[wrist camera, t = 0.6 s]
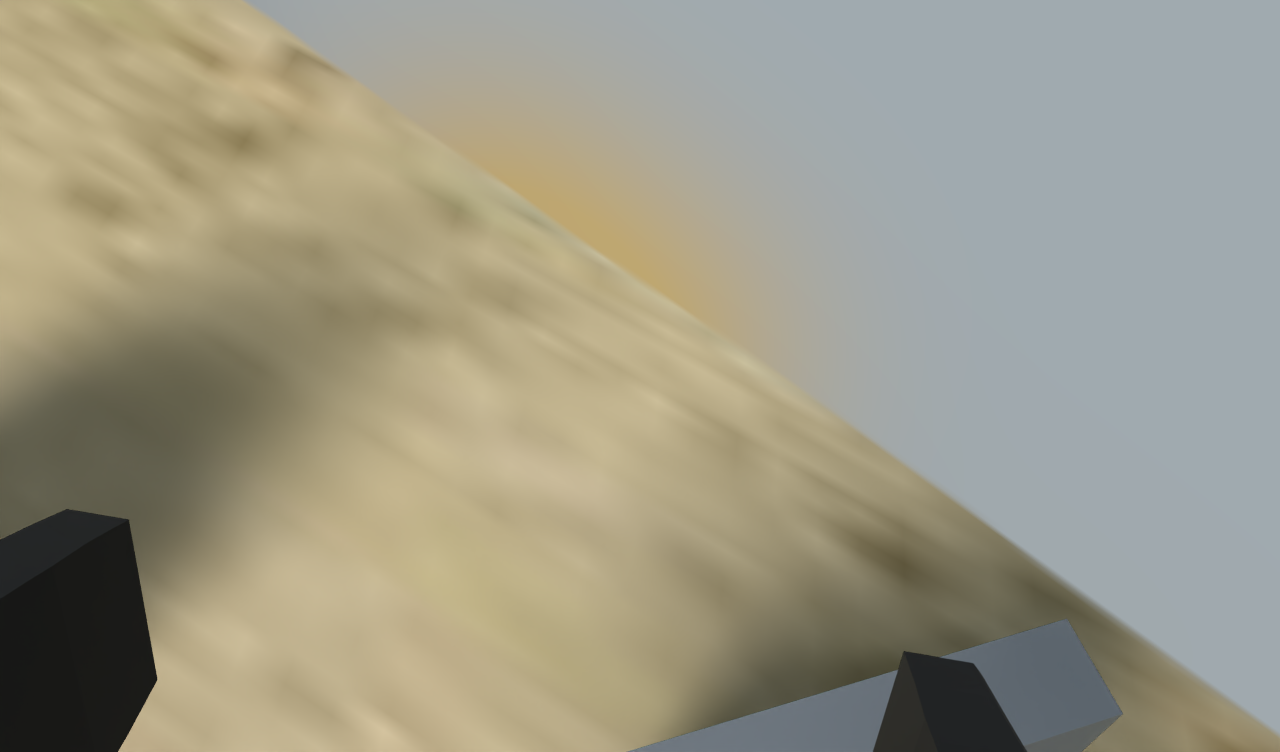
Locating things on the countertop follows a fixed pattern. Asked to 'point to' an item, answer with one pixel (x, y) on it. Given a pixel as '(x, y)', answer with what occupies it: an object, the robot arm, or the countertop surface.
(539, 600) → the countertop surface
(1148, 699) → the countertop surface
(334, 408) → the countertop surface
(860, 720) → the backstop wall
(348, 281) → the countertop surface
